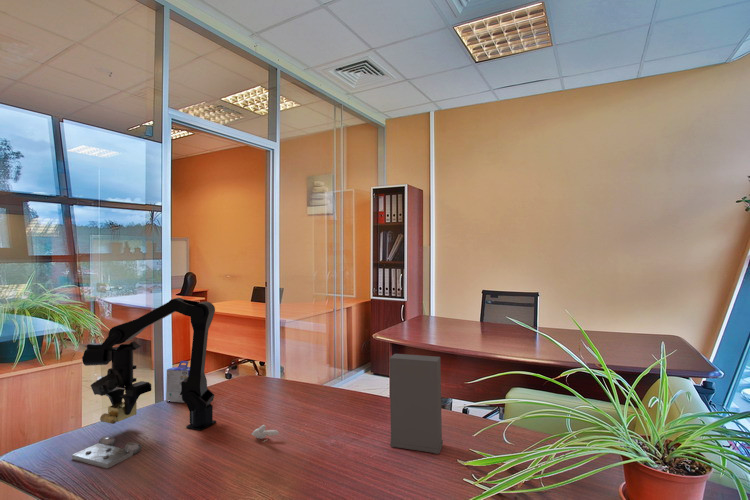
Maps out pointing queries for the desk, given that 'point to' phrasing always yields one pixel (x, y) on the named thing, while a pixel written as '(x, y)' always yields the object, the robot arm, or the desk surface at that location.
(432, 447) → the upright charcoal grey block
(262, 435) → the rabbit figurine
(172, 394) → the ink cartridge box
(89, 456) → the steel leaf
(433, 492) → the desk surface
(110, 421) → the brass leaf
